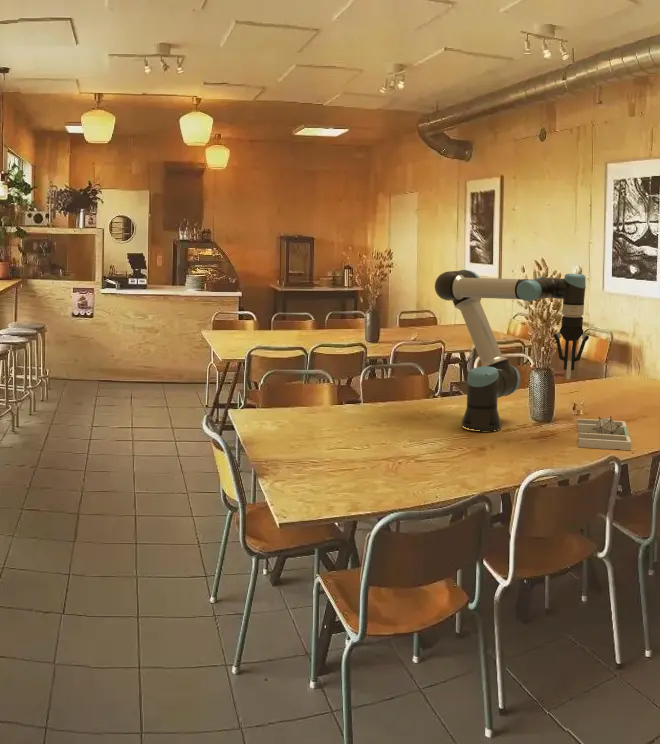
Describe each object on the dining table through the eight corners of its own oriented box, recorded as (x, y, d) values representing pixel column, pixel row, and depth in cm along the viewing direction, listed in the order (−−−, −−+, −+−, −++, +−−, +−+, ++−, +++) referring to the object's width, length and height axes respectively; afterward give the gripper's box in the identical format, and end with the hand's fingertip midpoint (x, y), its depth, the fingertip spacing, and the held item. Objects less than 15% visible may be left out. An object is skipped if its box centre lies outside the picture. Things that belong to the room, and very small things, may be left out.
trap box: (578, 446, 292) (578, 438, 291) (576, 426, 322) (577, 418, 322) (630, 450, 287) (631, 442, 287) (624, 428, 317) (625, 421, 317)
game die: (609, 448, 303) (620, 432, 296) (587, 439, 305) (597, 422, 298) (615, 432, 309) (625, 415, 302) (593, 423, 311) (602, 406, 304)
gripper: (554, 316, 300) (549, 379, 305) (591, 318, 297) (586, 381, 301) (554, 313, 307) (550, 375, 312) (590, 315, 304) (586, 377, 308)
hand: (568, 378), depth 306 cm, fingers closed
